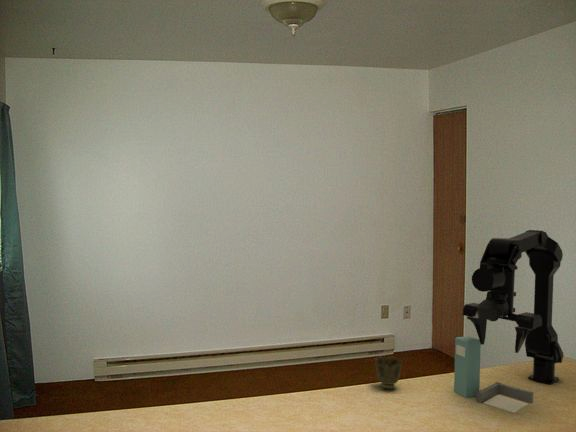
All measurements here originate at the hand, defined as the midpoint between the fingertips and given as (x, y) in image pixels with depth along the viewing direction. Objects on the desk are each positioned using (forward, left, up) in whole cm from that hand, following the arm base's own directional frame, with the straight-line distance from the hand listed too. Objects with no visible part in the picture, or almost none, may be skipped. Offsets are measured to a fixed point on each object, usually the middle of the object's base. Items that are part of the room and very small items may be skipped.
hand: (499, 348), depth 137 cm
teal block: (-1, -9, -15) cm, 17 cm away
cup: (+12, -26, -15) cm, 32 cm away
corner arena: (-3, 0, -15) cm, 15 cm away
